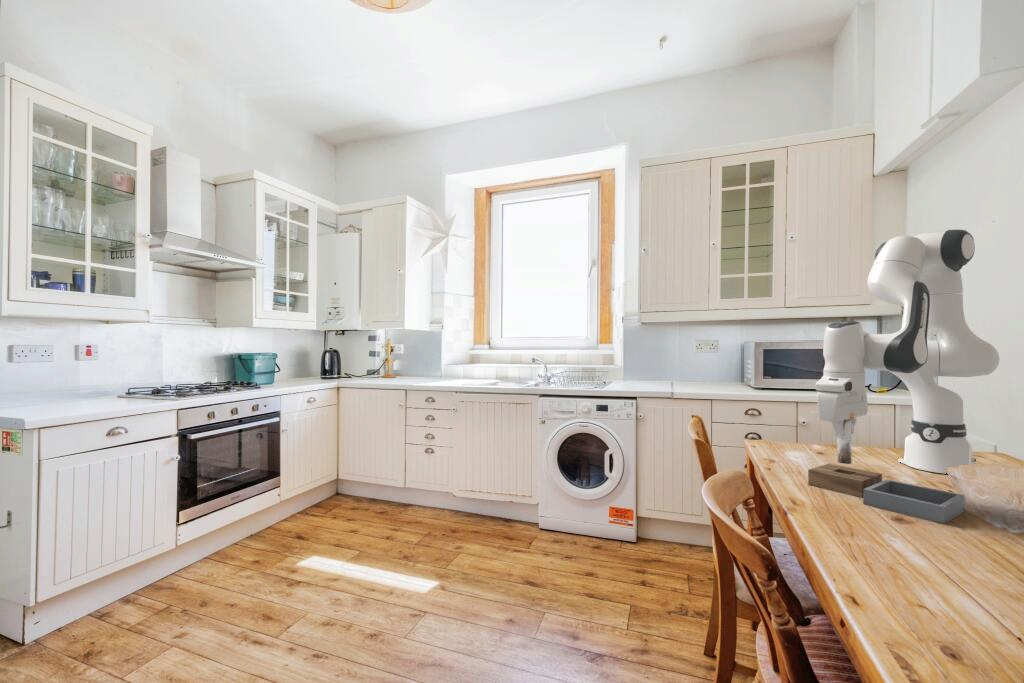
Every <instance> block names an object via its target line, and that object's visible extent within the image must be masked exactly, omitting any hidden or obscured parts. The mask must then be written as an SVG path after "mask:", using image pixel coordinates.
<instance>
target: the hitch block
mask: <svg viewBox="0 0 1024 683" xmlns="http://www.w3.org/2000/svg"><path fill="white" fill-rule="evenodd" d="M807 472H808V473H807V474H808V476H807V477H808V482H807V483H808V486H813V487H815V488H821V489H825V490H829V491H833V492H837V493H840V494H841V493H842V494H846V495H850V496H854V497H857V498H863V489H865V488H867V487H870V486H872V485H875V484H877V483H880V482H882V481H883V474H882V473H879V472H874V471H870V470H865V469H861V468H860V469H859V468H855V467H851V466H850V467H849V466H844V465H839V464H833V463H827V464H822V465H820V466H816V467H812V468H809V469H808V471H807Z"/></svg>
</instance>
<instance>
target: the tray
mask: <svg viewBox="0 0 1024 683" xmlns="http://www.w3.org/2000/svg"><path fill="white" fill-rule="evenodd" d="M965 497H966V496H965V494H960V493H956V492H951V491H946V490H942V489H935V488H930V487H926V486H921V485H915V484H911V483H905V482H903V481H902V482H901V481H897V480H891V479H885V480H882V482H880V483H877V484H875V485H872V486H870V487H867V488H865V489H863V505H867V506H870V507H874V508H878V509H882V510H886V511H891V512H894V513H899V514H903V515H906V516H910V517H915V518H919V519H922V520H927V521H930V522H935V523H939V524H943V525H945V524H947V523H949V522H950V521H952V520H953V519H955V518H956V517H958V516H960V515H961V514H963V513H964V512H966V498H965Z"/></svg>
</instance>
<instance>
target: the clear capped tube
mask: <svg viewBox="0 0 1024 683" xmlns="http://www.w3.org/2000/svg"><path fill="white" fill-rule="evenodd" d="M851 418H855V413H851V414H850V419H845V420H843V430H845V436H843V437H837V436H836V438H837V439H836V442H837V449H836V451H837V453H836V454H837V463H839V464H844V465H852V464H853V462H852V460H853V458H852V457H853V456H852V452H853V450H852V443H853V442H852V434H851Z"/></svg>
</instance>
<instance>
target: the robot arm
mask: <svg viewBox="0 0 1024 683" xmlns="http://www.w3.org/2000/svg"><path fill="white" fill-rule="evenodd" d="M975 250H976V244H975V239H974V237H973V235H972V234H971V233H970V232H969V231H967V230H965V229H947V230H945V231H941V230H939V231H931V232H930V231H929V232H924V233H918V234H915V235H898V236H894V237H893V238H890V239H889V240H888V241H885V242H883V243H882V244H880V245H879V247H877V249H876V251H875V253H874V261H873V264H872V266H871V268H870V270H869V272H868V276H867V280H866V285H867V288H868V291H869V292H870V294H871V295H873V296H874V297H875V298H877V299H878V300H880V301H883V302H884V303H888V304H892V305H897V306H901V307H903V313H902V322H901V328H900V330H898V331H896V332H893V333H868V332H867V331H865V330H864V329H863V326H862V323H861V322H860V321H856V320H845V321H837V322H832V323H830V324H828V325H826V327H825V330H824V335H823V343H822V345H823V346H822V349H823V350H822V354H823V360H824V367H823V371H822V373H823V375H822V376H821V378H820V379H819V380H818V381H816V382H815V391H818V392H817V396H816V397H817V399H816V400H817V401H816V402H817V404H816V405H817V414H818V417H819V420H820V421H824V422H831V425H832V427H833V429H834V436H835V437H836V438H837V437H843V436H845V430H843V420H845V419H850V414H851V413H855V418H851V435H854V433H855V425H856V423H857V418H858V417H862V416H866V415H867V414H868V412H869V408H868V406H869V405H868V404H869V403H868V396H867V395H868V394H867V390H866V370H870V371H884V372H885V371H886V372H888V371H889V373H890V374H893V375H894V376H896V377H897V378H898V379H900V380H901V381H902V382H903V383H904V385H905V386H906V388H907V389H908V391H909V394H910V396H911V403H912V418H913V419H911V421H910V427H911V434H909V435H907V436H906V437H905V440H904V456H903V457H902V458H898V461H897V462H898V463H900V462H901V463H900V464H904V465H906V466H908V467H910V468H913V469H917V470H921V471H926V472H932V473H938V474H944V475H945V474H946V468H947V467H955V466H959V465H971V464H980V463H978V462H977V459H976V457H973V448H972V444H970V442H969V441H968V439H967V438H966V436H967V435H968V434H967V427H966V423H964V400H963V398H962V396H961V395H960V394H958V393H957V392H955V391H953V390H950V389H948V388H946V387H944V386H941V385H939V384H937V383H936V381H935V378H936V377H945V378H946V377H947V378H948V377H952V378H953V377H954V378H974V377H980V376H981V377H983V376H989V375H991V374H992V373H993V372H995V371H996V369H998V367H999V365H1000V361H1001V360H1000V359H1001V358H1000V354H999V352H998V350H997V349H996V347H995V346H994V345H992V344H991V343H989V342H987V341H985V340H983V339H982V338H980V337H979V336H978V335H976V334H975V333H974V332H973V330H972V329H970V327H969V325H968V323H967V321H966V318H965V312H964V295H963V293H964V291H963V290H964V288H963V280H962V279H963V278H962V274H961V270H962V268H963V267H964V266H966V265H967V264H968V263H969V262H971V260H973V259H972V258H973V257H974V255H975ZM928 330H931V331H934V332H936V333H938V335H939V336H940V338H939V339H936V340H932V339H930V340H928ZM946 475H947V474H946Z"/></svg>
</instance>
